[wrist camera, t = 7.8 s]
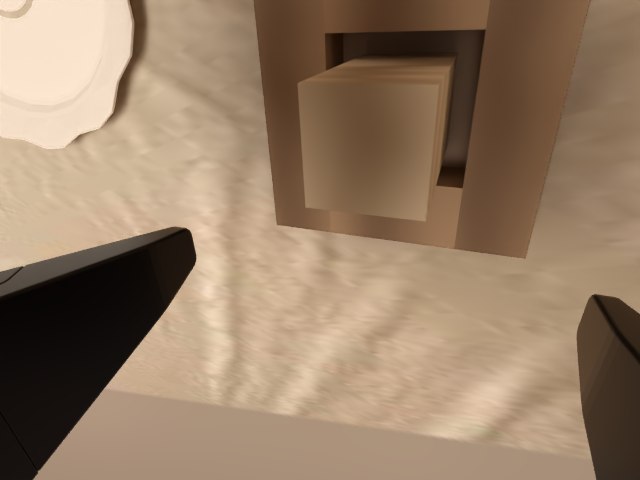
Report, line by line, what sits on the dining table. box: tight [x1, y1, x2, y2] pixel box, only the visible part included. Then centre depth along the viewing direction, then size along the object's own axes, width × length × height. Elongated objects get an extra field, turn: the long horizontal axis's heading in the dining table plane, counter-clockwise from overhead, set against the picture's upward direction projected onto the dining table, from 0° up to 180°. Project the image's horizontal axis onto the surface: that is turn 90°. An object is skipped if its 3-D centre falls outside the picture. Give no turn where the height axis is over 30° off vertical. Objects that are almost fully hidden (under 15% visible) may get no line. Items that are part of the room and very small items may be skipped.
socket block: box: [254, 0, 590, 258], centre depth 18 cm, size 12×12×3 cm
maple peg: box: [298, 53, 458, 222], centre depth 15 cm, size 4×4×8 cm
